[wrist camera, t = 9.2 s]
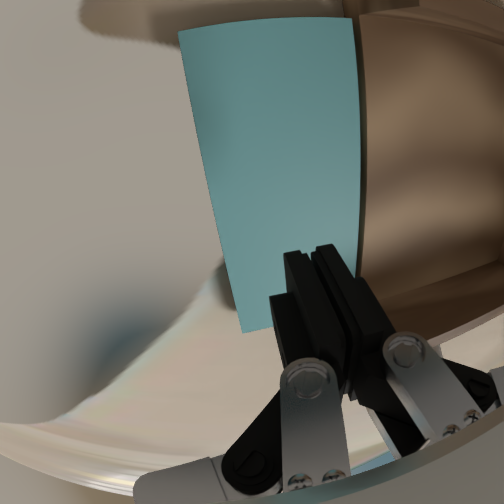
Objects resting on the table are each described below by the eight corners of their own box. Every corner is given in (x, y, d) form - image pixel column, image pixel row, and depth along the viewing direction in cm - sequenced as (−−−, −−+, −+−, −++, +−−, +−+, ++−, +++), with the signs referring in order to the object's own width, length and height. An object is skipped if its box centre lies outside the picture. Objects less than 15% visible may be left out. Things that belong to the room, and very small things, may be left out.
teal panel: (352, 305, 20) (242, 333, 20) (346, 296, 21) (240, 322, 20) (351, 18, 10) (177, 31, 10) (342, 20, 11) (178, 34, 11)
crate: (491, 258, 23) (529, 297, 18) (347, 304, 22) (381, 367, 17) (521, 42, 12) (582, 58, 7) (341, -3, 11) (414, -24, 6)
